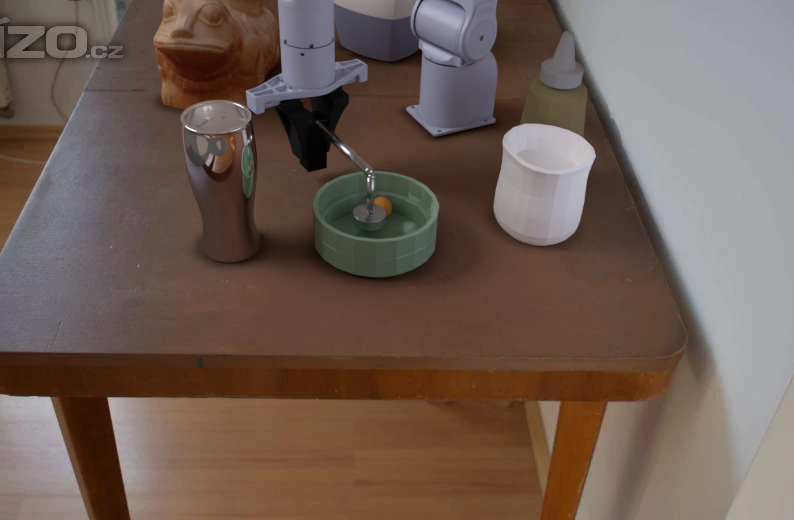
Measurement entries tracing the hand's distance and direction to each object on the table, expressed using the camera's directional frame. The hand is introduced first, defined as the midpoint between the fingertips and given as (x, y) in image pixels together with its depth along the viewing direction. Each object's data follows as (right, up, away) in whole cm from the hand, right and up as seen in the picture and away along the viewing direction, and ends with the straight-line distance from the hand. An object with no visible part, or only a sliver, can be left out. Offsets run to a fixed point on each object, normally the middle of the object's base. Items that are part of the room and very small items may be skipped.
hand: (311, 152), depth 97 cm
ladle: (+4, -5, -4) cm, 7 cm away
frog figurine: (-14, +14, +19) cm, 27 cm away
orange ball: (+8, -7, -5) cm, 12 cm away
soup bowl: (+8, -11, -7) cm, 15 cm away
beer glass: (-8, -12, -8) cm, 16 cm away
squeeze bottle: (+27, -3, +4) cm, 28 cm away
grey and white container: (+8, +23, +30) cm, 39 cm away
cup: (+25, -9, -3) cm, 27 cm away
